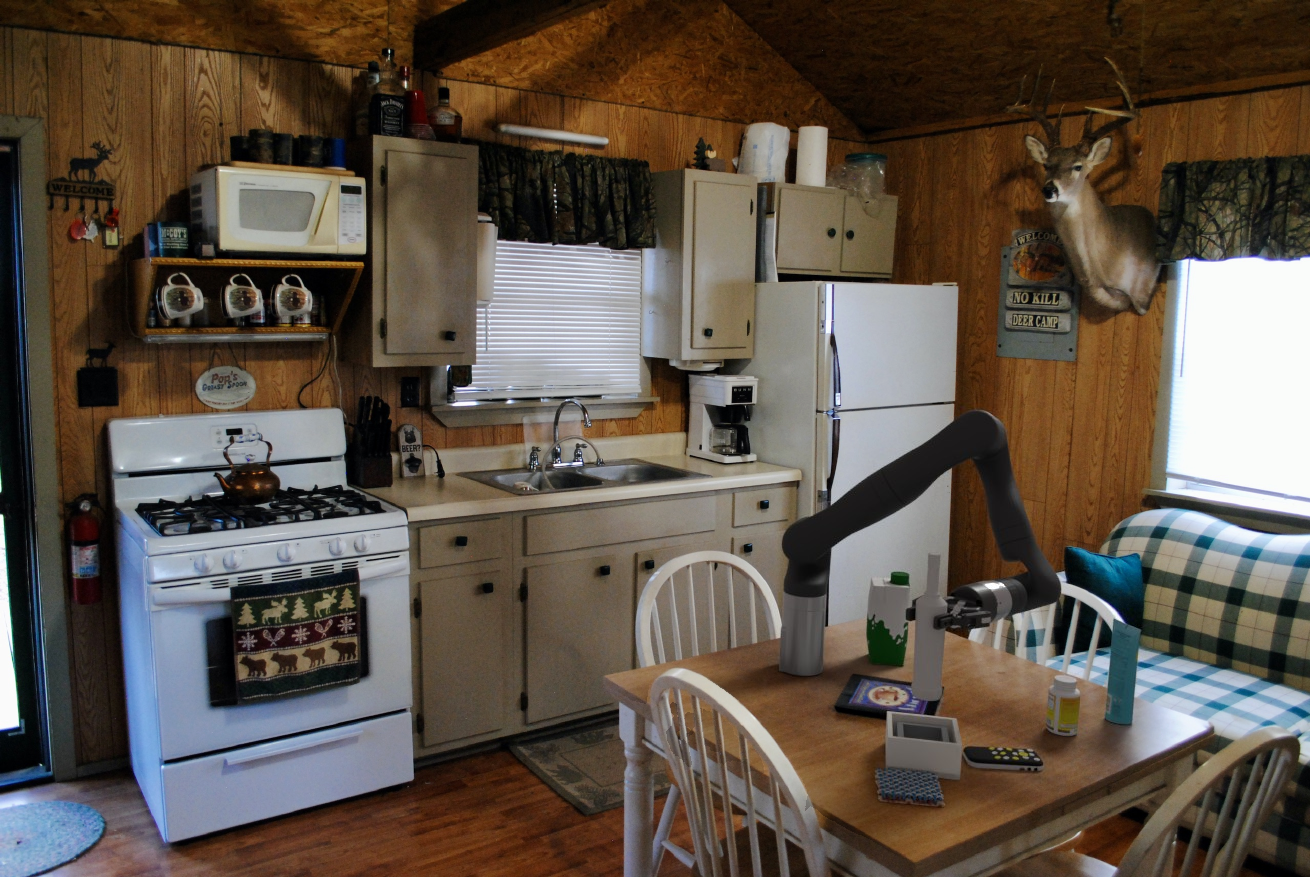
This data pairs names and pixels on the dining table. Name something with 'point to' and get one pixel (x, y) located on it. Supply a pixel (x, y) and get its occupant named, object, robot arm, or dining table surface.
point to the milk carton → (888, 619)
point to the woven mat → (909, 787)
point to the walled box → (923, 744)
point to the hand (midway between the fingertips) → (921, 619)
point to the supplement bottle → (1063, 706)
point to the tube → (1122, 673)
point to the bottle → (929, 637)
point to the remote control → (1002, 758)
